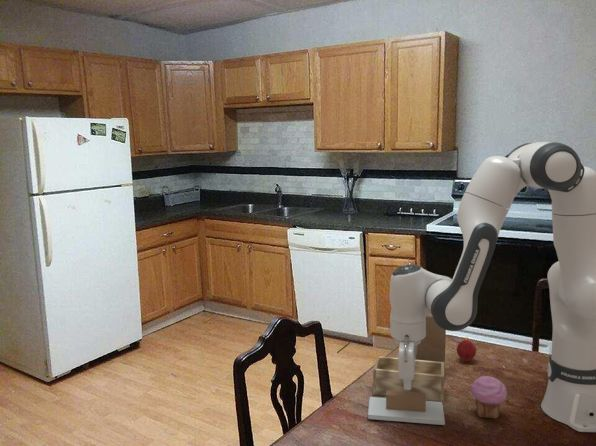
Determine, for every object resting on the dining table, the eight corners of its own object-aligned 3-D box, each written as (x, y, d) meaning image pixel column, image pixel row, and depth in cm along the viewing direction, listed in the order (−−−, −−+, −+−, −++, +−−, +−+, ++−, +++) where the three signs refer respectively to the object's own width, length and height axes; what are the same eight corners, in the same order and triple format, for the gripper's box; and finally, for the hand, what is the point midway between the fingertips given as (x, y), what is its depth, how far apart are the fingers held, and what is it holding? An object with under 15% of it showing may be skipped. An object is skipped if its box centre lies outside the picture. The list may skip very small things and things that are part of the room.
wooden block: (444, 380, 150) (446, 316, 147) (410, 378, 152) (410, 314, 149) (442, 365, 160) (443, 304, 157) (409, 363, 162) (410, 303, 159)
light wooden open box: (443, 388, 146) (444, 362, 144) (443, 404, 137) (444, 376, 136) (377, 381, 151) (377, 356, 150) (373, 396, 142) (373, 369, 141)
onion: (478, 365, 160) (479, 341, 158) (459, 365, 160) (460, 341, 158) (472, 357, 165) (473, 334, 164) (454, 357, 165) (455, 334, 164)
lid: (441, 409, 135) (442, 388, 134) (444, 428, 127) (445, 405, 126) (369, 404, 139) (369, 383, 138) (367, 422, 130) (367, 400, 129)
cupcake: (470, 421, 129) (471, 384, 127) (468, 403, 137) (469, 369, 136) (508, 425, 127) (509, 388, 125) (503, 407, 135) (505, 372, 133)
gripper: (419, 346, 118) (419, 401, 120) (422, 315, 137) (422, 363, 140) (391, 344, 120) (392, 398, 122) (398, 314, 139) (399, 361, 141)
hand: (408, 379), depth 131 cm, fingers open, 8 cm apart
